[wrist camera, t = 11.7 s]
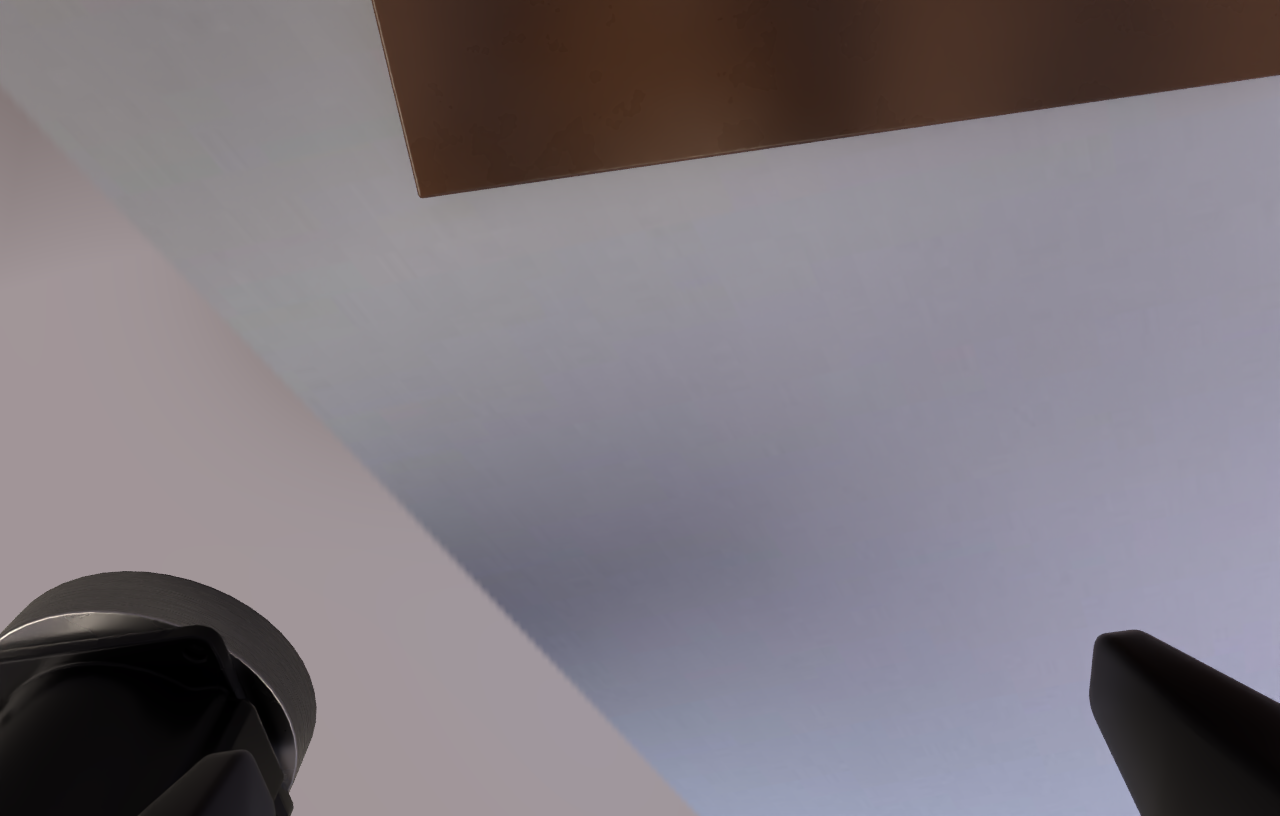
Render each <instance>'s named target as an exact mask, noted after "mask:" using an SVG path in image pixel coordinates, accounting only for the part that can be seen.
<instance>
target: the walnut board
mask: <svg viewBox="0 0 1280 816" xmlns="http://www.w3.org/2000/svg"><path fill="white" fill-rule="evenodd" d="M371 1H372V5H373V9H374V13H375V17H376V21H377V26H378V30H379V34H380V38H381V42H382V46H383V51H384V55H385V59H386V63H387V67H388V71H389V75H390V80H391V84H392V88H393V92H394V96H395V100H396V105H397V109H398V113H399V117H400V121H401V125H402V129H403V134H404V138H405V142H406V146H407V150H408V154H409V159H410V163H411V167H412V171H413V175H414V179H415V183H416V188H417V192H418V195H419V197H420V198H428V197H435V196H442V195H449V194H456V193H463V192H470V191H477V190H484V189H491V188H498V187H505V186H512V185H519V184H526V183H532V182H539V181H546V180H553V179H560V178H567V177H574V176H581V175H588V174H595V173H602V172H609V171H616V170H623V169H630V168H637V167H644V166H651V165H658V164H665V163H672V162H679V161H685V160H692V159H699V158H706V157H713V156H720V155H727V154H734V153H741V152H748V151H755V150H762V149H769V148H776V147H783V146H790V145H797V144H804V143H811V142H818V141H825V140H831V139H838V138H845V137H852V136H859V135H866V134H873V133H880V132H887V131H894V130H901V129H908V128H915V127H922V126H929V125H936V124H943V123H950V122H957V121H964V120H971V119H978V118H984V117H991V116H998V115H1005V114H1012V113H1019V112H1026V111H1033V110H1040V109H1047V108H1054V107H1061V106H1068V105H1075V104H1082V103H1089V102H1096V101H1103V100H1110V99H1117V98H1124V97H1131V96H1137V95H1144V94H1151V93H1158V92H1165V91H1172V90H1179V89H1186V88H1193V87H1200V86H1207V85H1214V84H1221V83H1228V82H1235V81H1242V80H1249V79H1256V78H1263V77H1270V76H1277V75H1280V0H371Z"/></svg>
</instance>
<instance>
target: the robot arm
mask: <svg viewBox="0 0 1280 816" xmlns="http://www.w3.org/2000/svg"><path fill="white" fill-rule="evenodd" d="M193 644H194V645H199V646H201V647H202V648H203V649H204V650H200V649H198V648H196V647H194V646H193ZM1089 699H1090V705H1091V709H1092V712H1093V715H1094V718H1095V720H1096V722H1097V724H1098V726H1099V728H1100V731H1101V733H1102V735H1103V737H1104V739H1105V741H1106V743H1107V745H1108V747H1109V749H1110V752H1111V754H1112V756H1113V758H1114V760H1115V762H1116V764H1117V766H1118V768H1119V770H1120V773H1121V775H1122V777H1123V779H1124V781H1125V783H1126V785H1127V787H1128V789H1129V791H1130V794H1131V796H1132V798H1133V800H1134V802H1135V804H1136V806H1137V808H1138V810H1139V812H1140V815H1141V816H1280V703H1278V702H1276V701H1274V700H1272V699H1270V698H1268V697H1267V696H1265V695H1263V694H1261V693H1259V692H1257V691H1255V690H1253V689H1251V688H1250V687H1248V686H1246V685H1244V684H1242V683H1240V682H1238V681H1236V680H1234V679H1233V678H1231V677H1229V676H1227V675H1225V674H1223V673H1221V672H1219V671H1217V670H1216V669H1214V668H1212V667H1210V666H1208V665H1206V664H1204V663H1202V662H1200V661H1199V660H1197V659H1195V658H1193V657H1191V656H1189V655H1187V654H1185V653H1183V652H1182V651H1180V650H1178V649H1176V648H1174V647H1172V646H1170V645H1168V644H1166V643H1165V642H1163V641H1161V640H1159V639H1157V638H1155V637H1153V636H1151V635H1149V634H1148V633H1145V632H1143V631H1140V630H1126V631H1118V632H1111V633H1104V634H1102V635H1100V636H1098V637H1097V639H1096V641H1095V644H1094V650H1093V659H1092V669H1091V679H1090V689H1089ZM283 779H284V774H283V771H282V769H281V767H280V764H279V762H278V760H277V757H276V755H275V753H274V750H273V748H272V746H271V743H270V741H269V739H268V736H267V734H266V731H265V729H264V727H263V724H262V722H261V720H260V717H259V715H258V713H257V710H256V708H255V706H254V705H253V704H252V703H251V702H250V701H249V699H248V697H247V694H246V692H245V690H244V687H243V685H242V683H241V680H240V678H239V676H238V673H237V671H236V669H235V666H234V664H233V662H232V659H231V657H230V655H229V652H228V650H227V648H226V645H225V643H224V641H223V639H222V637H221V636H220V634H219V633H218V632H217V631H215V630H214V629H212V628H210V627H207V626H204V625H191V626H183V627H175V628H168V629H160V630H153V631H145V632H137V633H130V634H122V635H115V636H107V637H100V638H92V639H84V640H77V641H69V642H62V643H54V644H46V645H39V646H31V647H24V648H16V649H8V650H1V651H0V816H291V813H292V811H293V802H292V800H291V797H290V795H289V793H288V790H287V788H286V786H285V783H284V781H283Z"/></svg>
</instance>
